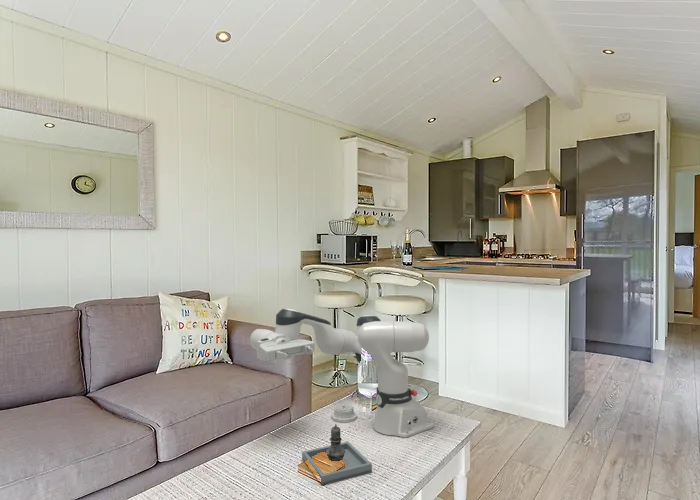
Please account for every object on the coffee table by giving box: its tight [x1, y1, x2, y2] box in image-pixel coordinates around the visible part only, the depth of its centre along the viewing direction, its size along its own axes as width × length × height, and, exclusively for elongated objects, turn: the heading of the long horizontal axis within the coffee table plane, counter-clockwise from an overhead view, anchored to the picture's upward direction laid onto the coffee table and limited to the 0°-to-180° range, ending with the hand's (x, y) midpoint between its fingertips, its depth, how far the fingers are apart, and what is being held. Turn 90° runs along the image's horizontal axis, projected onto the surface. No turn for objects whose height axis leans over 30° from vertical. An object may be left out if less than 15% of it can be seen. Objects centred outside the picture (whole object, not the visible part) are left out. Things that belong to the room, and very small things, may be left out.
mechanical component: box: [330, 403, 358, 424], centre depth 171 cm, size 10×4×10 cm
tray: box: [301, 441, 373, 486], centre depth 135 cm, size 16×16×2 cm
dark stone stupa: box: [326, 423, 345, 461], centre depth 135 cm, size 6×6×12 cm
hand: (299, 354), depth 149 cm, fingers open, 8 cm apart
